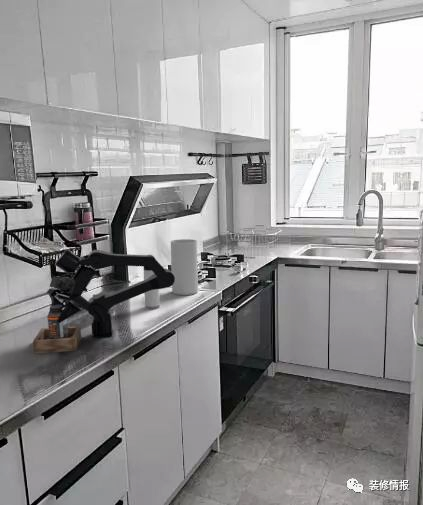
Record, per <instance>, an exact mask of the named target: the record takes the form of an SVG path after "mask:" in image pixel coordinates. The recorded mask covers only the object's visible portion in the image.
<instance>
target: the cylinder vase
mask: <svg viewBox="0 0 423 505" xmlns="http://www.w3.org/2000/svg"><path fill="white" fill-rule="evenodd" d="M170 267H171V270H170V271H171V272H172V274H173V275H174V277H175V282H174V284H173V285H172V286H171V291H172V294H174V295H177V296H189V295H190V296H191V295H194V294H197V293H198V292H199V279H198V277H199V273H198V271H199V270H198V240H197V239H191V238H189V239H186V238H185V239H174V240H171V241H170Z"/></svg>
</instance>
